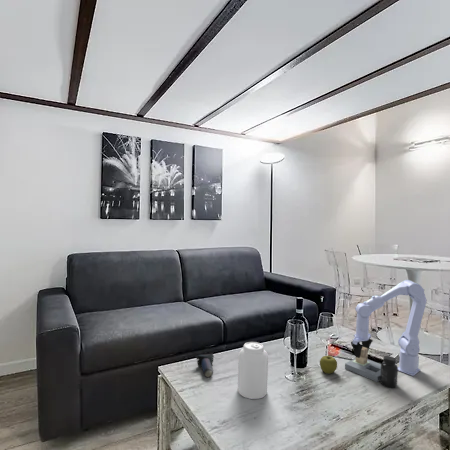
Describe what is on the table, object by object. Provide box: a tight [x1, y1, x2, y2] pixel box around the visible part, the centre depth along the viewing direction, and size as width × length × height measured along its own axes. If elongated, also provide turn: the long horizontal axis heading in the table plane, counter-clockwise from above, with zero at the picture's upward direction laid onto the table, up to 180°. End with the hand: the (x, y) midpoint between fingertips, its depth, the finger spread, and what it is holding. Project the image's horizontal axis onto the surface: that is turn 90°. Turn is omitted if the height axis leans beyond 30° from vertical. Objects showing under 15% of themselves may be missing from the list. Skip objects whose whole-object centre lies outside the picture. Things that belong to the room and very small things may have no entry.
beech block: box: [355, 347, 369, 364], centre depth 160 cm, size 4×4×7 cm
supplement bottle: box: [379, 355, 399, 389], centre depth 144 cm, size 7×7×12 cm
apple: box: [319, 355, 338, 375], centre depth 154 cm, size 8×8×7 cm
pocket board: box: [344, 357, 381, 383], centre depth 157 cm, size 14×16×3 cm
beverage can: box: [195, 352, 215, 378], centre depth 152 cm, size 9×8×12 cm
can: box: [237, 341, 269, 400], centre depth 135 cm, size 12×12×20 cm
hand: (361, 355), depth 160 cm, fingers open, 7 cm apart
